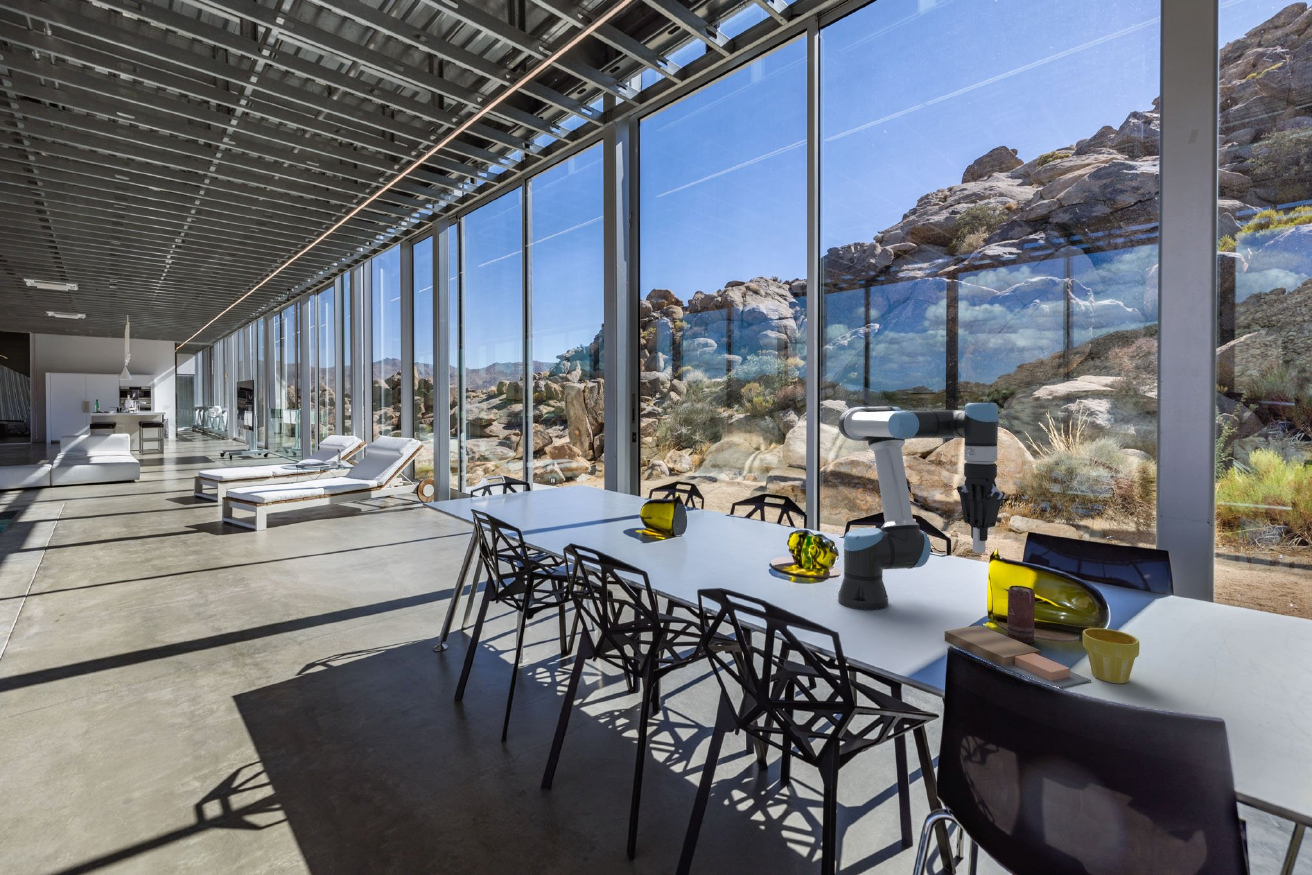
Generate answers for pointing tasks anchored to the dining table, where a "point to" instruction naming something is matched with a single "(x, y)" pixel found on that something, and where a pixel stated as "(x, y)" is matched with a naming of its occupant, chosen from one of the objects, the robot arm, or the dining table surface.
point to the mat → (1060, 683)
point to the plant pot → (1110, 653)
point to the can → (1021, 614)
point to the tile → (1042, 666)
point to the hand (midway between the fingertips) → (978, 552)
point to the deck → (989, 644)
